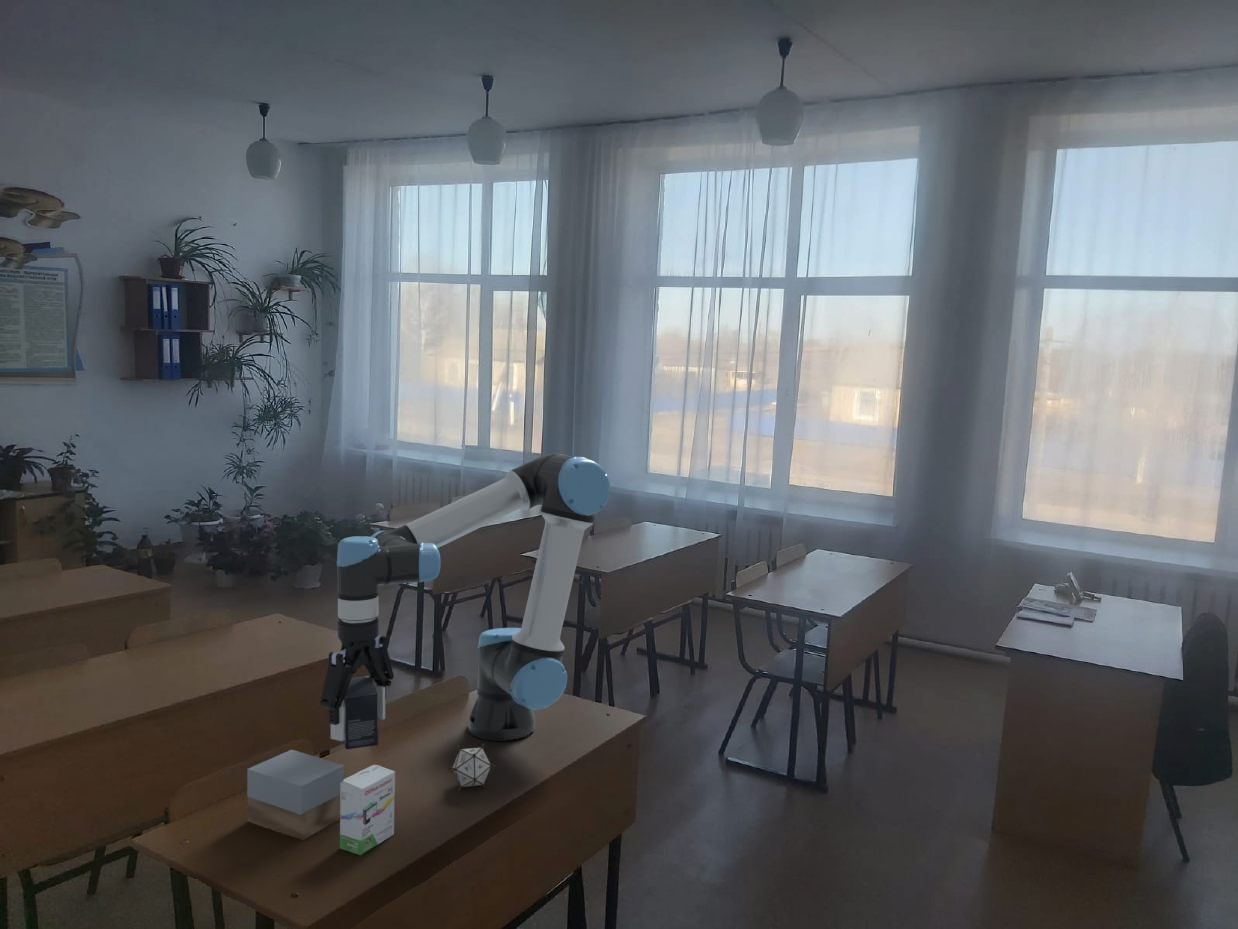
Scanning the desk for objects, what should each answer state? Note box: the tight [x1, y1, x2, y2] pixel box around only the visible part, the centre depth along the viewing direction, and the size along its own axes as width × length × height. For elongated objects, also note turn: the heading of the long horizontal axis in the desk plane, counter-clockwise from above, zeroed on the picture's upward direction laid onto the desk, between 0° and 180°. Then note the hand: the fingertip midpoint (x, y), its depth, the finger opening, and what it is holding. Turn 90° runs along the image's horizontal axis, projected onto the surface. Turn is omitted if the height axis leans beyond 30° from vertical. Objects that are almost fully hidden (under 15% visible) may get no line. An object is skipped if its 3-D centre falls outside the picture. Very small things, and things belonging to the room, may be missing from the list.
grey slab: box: [246, 749, 345, 815], centre depth 159 cm, size 10×13×5 cm
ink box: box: [339, 764, 396, 856], centre depth 152 cm, size 8×5×12 cm, turn 153°
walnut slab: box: [247, 794, 340, 841], centre depth 160 cm, size 10×13×5 cm
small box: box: [341, 674, 380, 750], centre depth 173 cm, size 11×6×10 cm, turn 22°
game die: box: [447, 743, 496, 792], centre depth 175 cm, size 9×8×10 cm
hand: (358, 728), depth 173 cm, fingers closed on small box, 11 cm apart
